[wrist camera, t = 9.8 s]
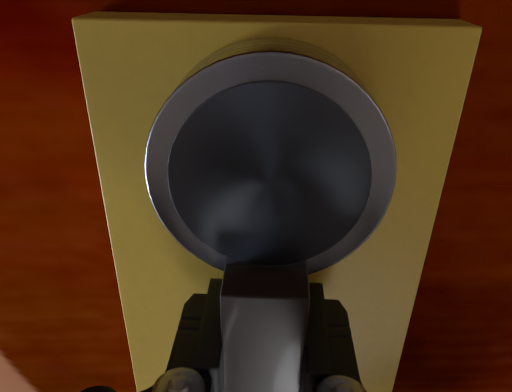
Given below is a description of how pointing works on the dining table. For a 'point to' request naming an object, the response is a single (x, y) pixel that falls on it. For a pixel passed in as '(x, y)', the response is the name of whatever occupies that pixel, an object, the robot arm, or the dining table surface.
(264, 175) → the frying pan
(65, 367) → the dining table surface
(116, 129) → the board
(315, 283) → the robot arm
